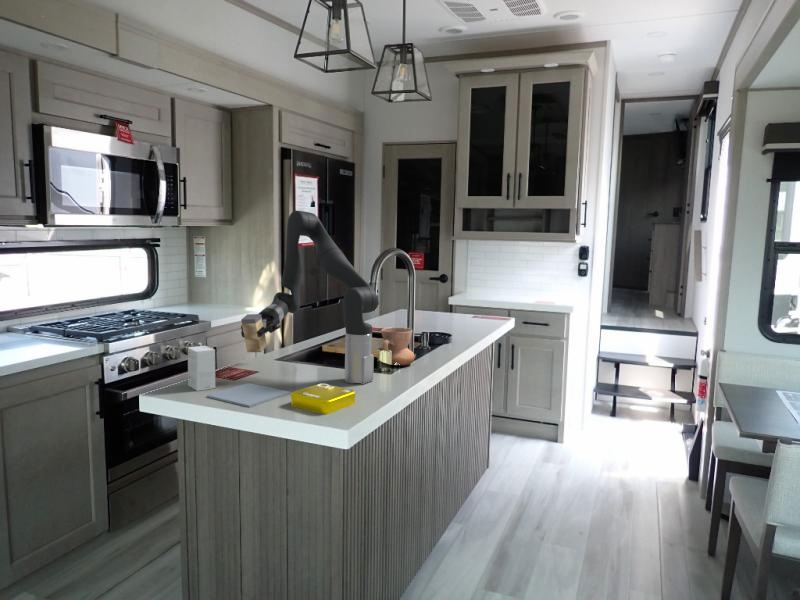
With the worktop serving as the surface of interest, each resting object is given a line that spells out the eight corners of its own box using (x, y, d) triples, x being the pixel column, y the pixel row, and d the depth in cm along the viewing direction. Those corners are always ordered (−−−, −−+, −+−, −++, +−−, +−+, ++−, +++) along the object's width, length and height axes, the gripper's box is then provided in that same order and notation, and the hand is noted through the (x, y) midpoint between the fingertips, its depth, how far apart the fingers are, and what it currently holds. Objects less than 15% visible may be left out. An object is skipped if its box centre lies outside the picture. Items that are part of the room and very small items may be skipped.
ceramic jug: (393, 357, 247) (393, 324, 245) (423, 362, 239) (423, 328, 237) (367, 366, 232) (367, 330, 230) (398, 371, 224) (398, 335, 222)
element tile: (288, 406, 179) (288, 391, 178) (320, 395, 191) (321, 381, 191) (326, 416, 171) (326, 400, 170) (357, 404, 183) (358, 389, 182)
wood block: (266, 346, 206) (260, 314, 202) (260, 352, 201) (254, 319, 197) (253, 346, 207) (247, 314, 203) (247, 352, 202) (241, 319, 198)
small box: (215, 388, 194) (215, 349, 192) (196, 391, 190) (196, 351, 188) (206, 382, 200) (206, 345, 198) (187, 385, 196) (187, 347, 194)
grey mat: (289, 393, 191) (289, 391, 191) (249, 407, 175) (249, 405, 175) (248, 384, 199) (248, 382, 199) (206, 397, 184) (206, 395, 184)
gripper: (250, 308, 215) (229, 324, 200) (287, 306, 212) (268, 323, 197) (253, 327, 218) (233, 345, 202) (290, 326, 215) (272, 344, 199)
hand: (250, 334), depth 199 cm, fingers closed on wood block, 5 cm apart
